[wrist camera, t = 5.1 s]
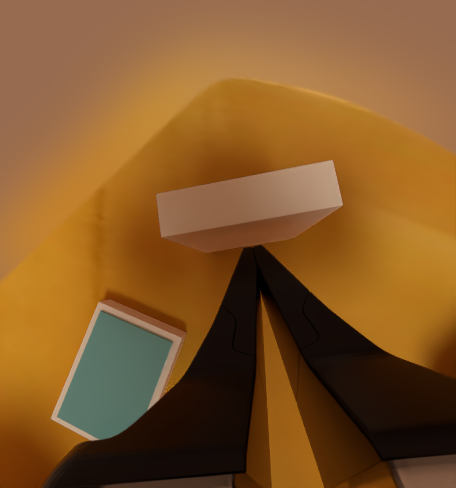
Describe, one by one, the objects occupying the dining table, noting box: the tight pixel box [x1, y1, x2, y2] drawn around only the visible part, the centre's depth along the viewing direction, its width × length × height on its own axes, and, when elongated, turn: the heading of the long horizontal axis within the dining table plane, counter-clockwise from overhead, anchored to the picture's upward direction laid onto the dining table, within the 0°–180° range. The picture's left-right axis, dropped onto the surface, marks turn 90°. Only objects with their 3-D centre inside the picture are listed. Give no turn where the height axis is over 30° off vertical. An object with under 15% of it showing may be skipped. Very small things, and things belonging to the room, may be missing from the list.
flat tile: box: [51, 299, 187, 441], centre depth 16 cm, size 9×7×2 cm
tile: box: [156, 160, 343, 253], centre depth 13 cm, size 2×7×9 cm, turn 99°
